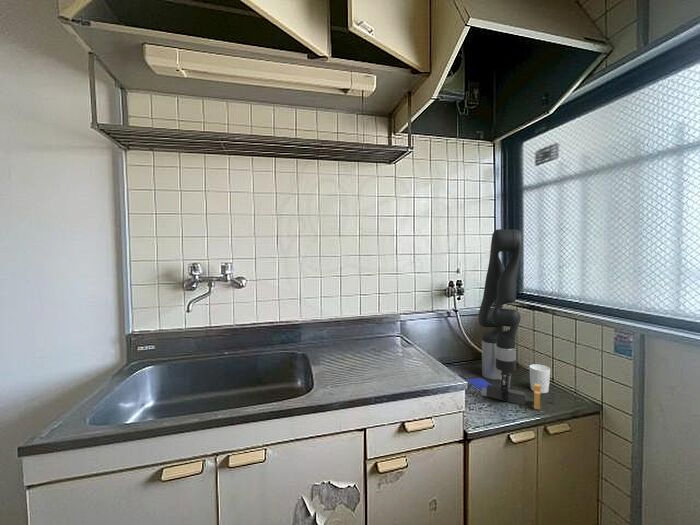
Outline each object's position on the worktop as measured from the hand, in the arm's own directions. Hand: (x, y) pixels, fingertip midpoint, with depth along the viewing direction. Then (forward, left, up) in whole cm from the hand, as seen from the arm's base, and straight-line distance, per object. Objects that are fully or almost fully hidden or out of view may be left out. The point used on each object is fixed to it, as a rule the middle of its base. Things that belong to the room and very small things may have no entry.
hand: (505, 398), depth 136 cm
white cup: (-17, +12, -1) cm, 21 cm away
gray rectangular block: (0, 0, 0) cm, 0 cm away
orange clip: (0, +11, -1) cm, 11 cm away
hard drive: (-10, -11, -1) cm, 15 cm away
